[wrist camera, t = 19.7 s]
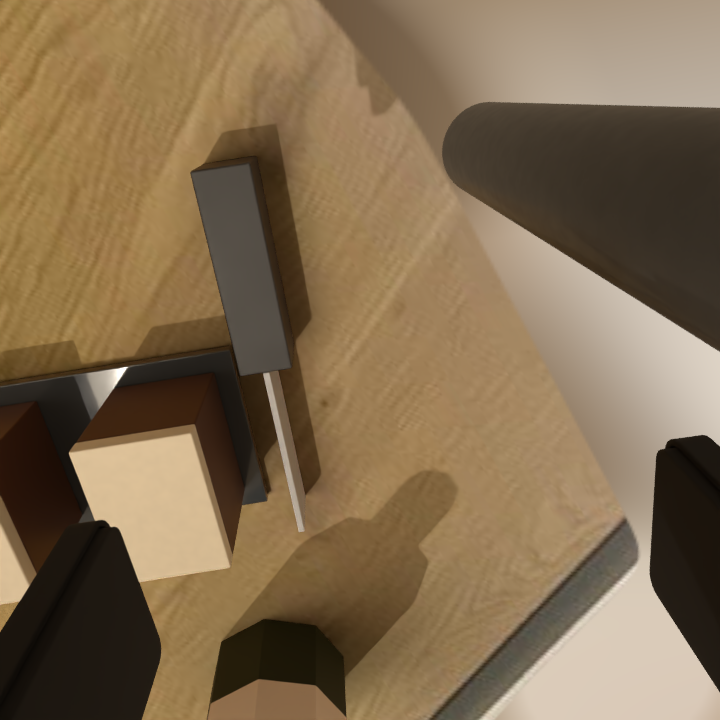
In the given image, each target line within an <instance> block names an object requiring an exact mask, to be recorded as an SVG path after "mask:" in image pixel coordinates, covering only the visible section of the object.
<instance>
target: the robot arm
mask: <svg viewBox="0 0 720 720" xmlns="http://www.w3.org/2000/svg"><path fill="white" fill-rule="evenodd" d="M650 578H651V582H652V586H653V588H654V591H655V593H656V594H657V596H658V598H659V599H660V601H661V602H662V604H663V605H664V607H665V608H666V610H667V611H668V613H669V615H670V616H671V618H672V619H673V621H674V622H675V624H676V625H677V627H678V628H679V630H680V632H681V633H682V635H683V636H684V638H685V639H686V641H687V642H688V644H689V645H690V647H691V648H692V650H693V652H694V653H695V655H696V656H697V658H698V659H699V661H700V662H701V664H702V665H703V667H704V669H705V670H706V672H707V673H708V675H709V676H710V678H711V679H712V681H713V682H714V684H715V686H716V687H717V689H718V690H719V692H720V446H719V445H717V444H716V443H715V442H714V441H713V440H712V439H711V438H709V437H708V436H705V435H700V436H693V437H685V438H679V439H671V440H669V441H668V442H667V444H666V447H665V449H662V450H659V451H658V453H657V456H656V471H655V487H654V505H653V521H652V539H651V556H650ZM160 658H161V642H160V638H159V635H158V632H157V630H156V627H155V624H154V621H153V619H152V616H151V613H150V611H149V608H148V605H147V602H146V600H145V597H144V594H143V591H142V589H141V586H140V583H139V581H138V578H137V575H136V572H135V570H134V567H133V564H132V562H131V559H130V556H129V553H128V551H127V548H126V545H125V543H124V540H123V537H122V534H121V532H120V530H119V529H118V528H117V527H110V525H109V524H108V523H107V522H106V521H105V520H97V521H90V522H83V523H76V524H71V525H68V526H67V528H66V529H65V530H64V532H63V533H62V535H61V536H60V538H59V540H58V541H57V543H56V544H55V546H54V548H53V549H52V551H51V552H50V554H49V556H48V557H47V559H46V560H45V562H44V563H43V565H42V567H41V568H40V570H39V571H38V573H37V575H36V576H35V578H34V579H33V581H32V583H31V584H30V586H29V587H28V589H27V591H26V592H25V594H24V595H23V597H22V599H21V600H20V602H19V603H18V605H17V606H16V608H15V610H14V611H13V613H12V614H11V616H10V618H9V619H8V621H7V622H6V624H5V626H4V627H3V629H2V630H1V632H0V720H142V717H143V714H144V710H145V707H146V704H147V701H148V698H149V694H150V691H151V688H152V685H153V682H154V678H155V675H156V672H157V669H158V665H159V662H160Z"/></svg>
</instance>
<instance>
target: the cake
mask: <svg viewBox="0 0 720 720" xmlns="http://www.w3.org/2000/svg"><path fill="white" fill-rule="evenodd" d="M69 455H70V458H71V461H72V463H73V466H74V468H75V471H76V473H77V476H78V478H79V481H80V483H81V486H82V489H83V491H84V494H85V496H86V499H87V501H88V504H89V506H90V509H91V512H92V514H93V517H94V519H95V521H97V520H105V521H106V522H107V523H108V524H109V525H110V527H117V528H118V529H119V530H120V532H121V534H122V537H123V540H124V543H125V545H126V548H127V551H128V553H129V556H130V559H131V562H132V564H133V567H134V570H135V572H136V575H137V578H138V581H139V582H144V581H150V580H156V579H162V578H169V577H175V576H181V575H187V574H194V573H200V572H206V571H212V570H219V569H225V568H230V567H231V563H232V557H233V550H234V545H235V540H236V534H237V529H238V523H239V518H240V512H241V507H242V501H243V496H244V490H245V488H244V484H243V480H242V477H241V473H240V469H239V465H238V461H237V458H236V454H235V450H234V446H233V442H232V439H231V435H230V431H229V427H228V424H227V420H226V416H225V412H224V408H223V405H222V401H221V397H220V393H219V389H218V386H217V382H216V378H215V374H214V373H207V374H201V375H194V376H188V377H182V378H175V379H169V380H163V381H157V382H150V383H144V384H138V385H131V386H125V387H119V388H114V389H113V390H112V392H111V393H110V394H109V396H108V397H107V399H106V400H105V402H104V403H103V405H102V406H101V407H100V409H99V410H98V412H97V413H96V415H95V416H94V417H93V419H92V420H91V422H90V423H89V425H88V426H87V428H86V429H85V430H84V432H83V433H82V435H81V436H80V438H79V439H78V440H77V443H75V444H74V446H73V447H72V449H71V450H70V451H69Z"/></svg>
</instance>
